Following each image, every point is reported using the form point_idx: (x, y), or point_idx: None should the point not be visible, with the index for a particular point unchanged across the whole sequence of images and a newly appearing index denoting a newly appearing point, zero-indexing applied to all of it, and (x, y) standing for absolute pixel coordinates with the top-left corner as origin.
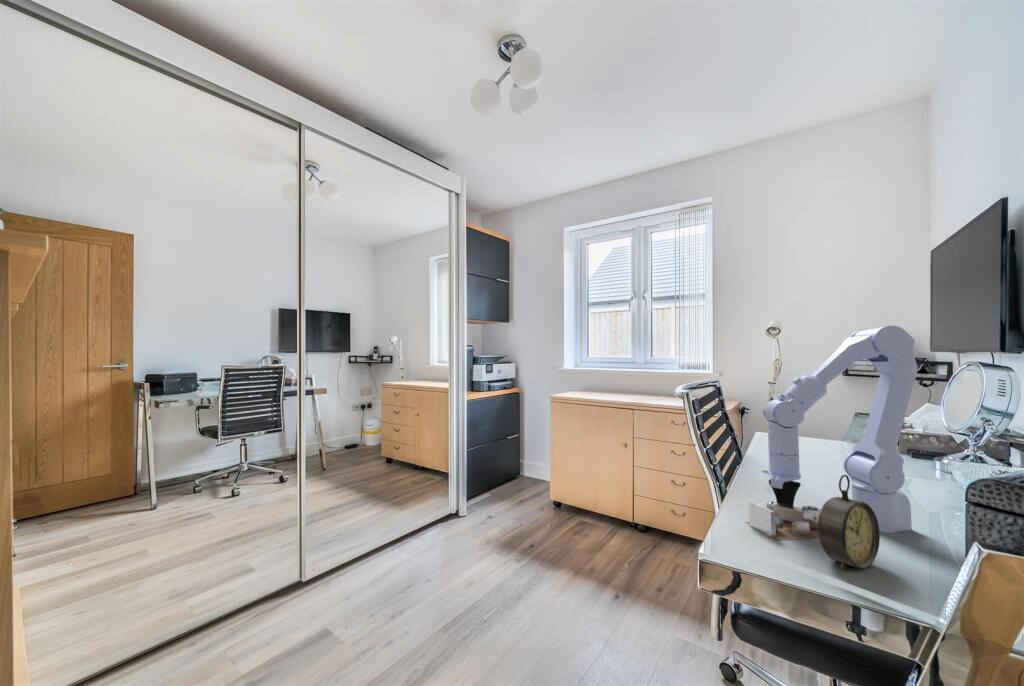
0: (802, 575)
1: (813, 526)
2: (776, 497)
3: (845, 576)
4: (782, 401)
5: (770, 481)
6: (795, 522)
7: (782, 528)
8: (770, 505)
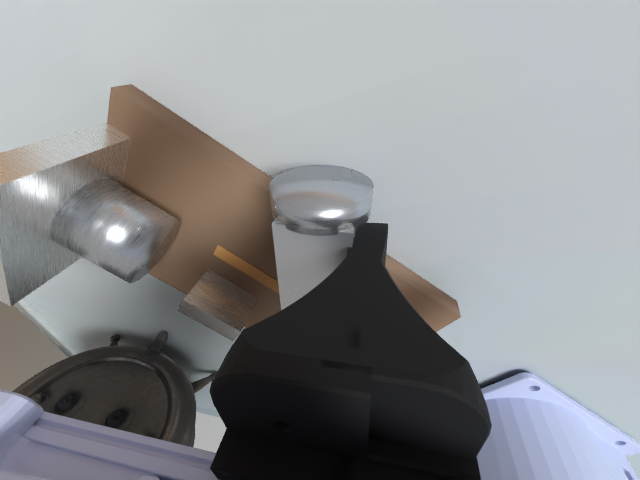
0: (40, 288)
1: None
2: (332, 272)
3: (125, 340)
4: None
5: (212, 382)
6: (189, 308)
7: (213, 240)
8: (274, 215)
